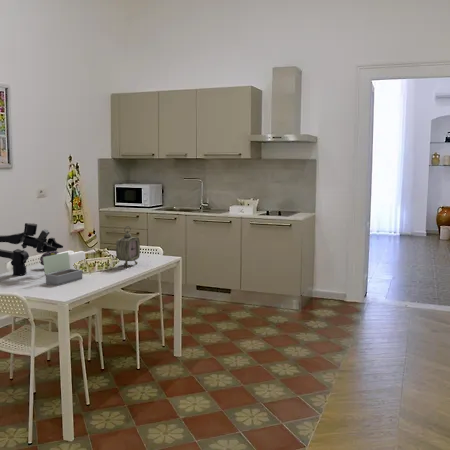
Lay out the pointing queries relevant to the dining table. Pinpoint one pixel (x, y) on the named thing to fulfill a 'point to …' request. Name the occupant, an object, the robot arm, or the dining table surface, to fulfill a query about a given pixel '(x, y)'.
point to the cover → (56, 262)
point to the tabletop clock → (128, 248)
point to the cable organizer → (74, 257)
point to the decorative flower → (47, 255)
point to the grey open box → (63, 277)
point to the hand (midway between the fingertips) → (60, 248)
